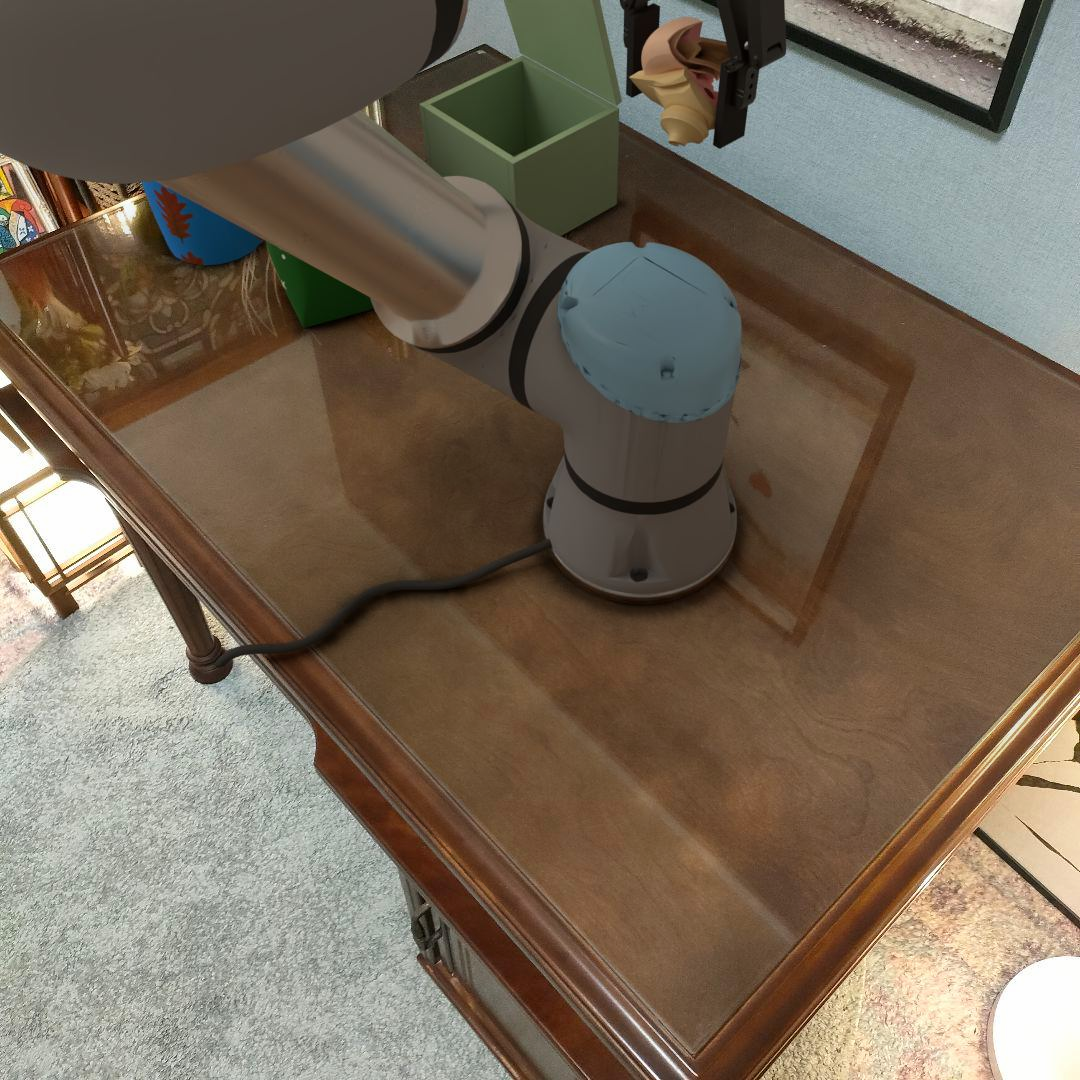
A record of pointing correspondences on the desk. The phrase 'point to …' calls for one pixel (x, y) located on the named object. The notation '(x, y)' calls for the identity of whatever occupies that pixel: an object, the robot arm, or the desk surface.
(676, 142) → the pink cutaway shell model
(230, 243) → the thermos
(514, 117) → the chest
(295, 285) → the milk carton
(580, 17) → the lid
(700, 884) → the desk surface
